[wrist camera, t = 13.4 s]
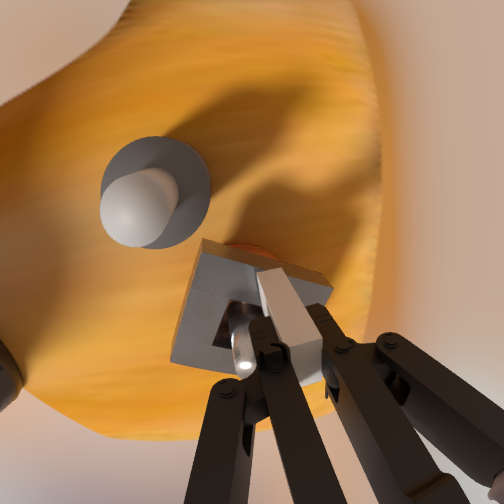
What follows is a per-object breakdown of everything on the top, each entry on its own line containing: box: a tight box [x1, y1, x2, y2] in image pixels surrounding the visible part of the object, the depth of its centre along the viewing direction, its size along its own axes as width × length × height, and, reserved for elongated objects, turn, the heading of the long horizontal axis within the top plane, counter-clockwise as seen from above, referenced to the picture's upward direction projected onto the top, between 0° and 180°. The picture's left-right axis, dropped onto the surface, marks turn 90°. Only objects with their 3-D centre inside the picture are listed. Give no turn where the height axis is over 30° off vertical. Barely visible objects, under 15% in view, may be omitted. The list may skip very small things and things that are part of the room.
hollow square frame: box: [170, 238, 334, 375], centre depth 19 cm, size 9×9×2 cm
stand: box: [100, 136, 210, 249], centre depth 14 cm, size 6×6×10 cm
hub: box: [219, 244, 279, 379], centre depth 19 cm, size 8×8×9 cm
